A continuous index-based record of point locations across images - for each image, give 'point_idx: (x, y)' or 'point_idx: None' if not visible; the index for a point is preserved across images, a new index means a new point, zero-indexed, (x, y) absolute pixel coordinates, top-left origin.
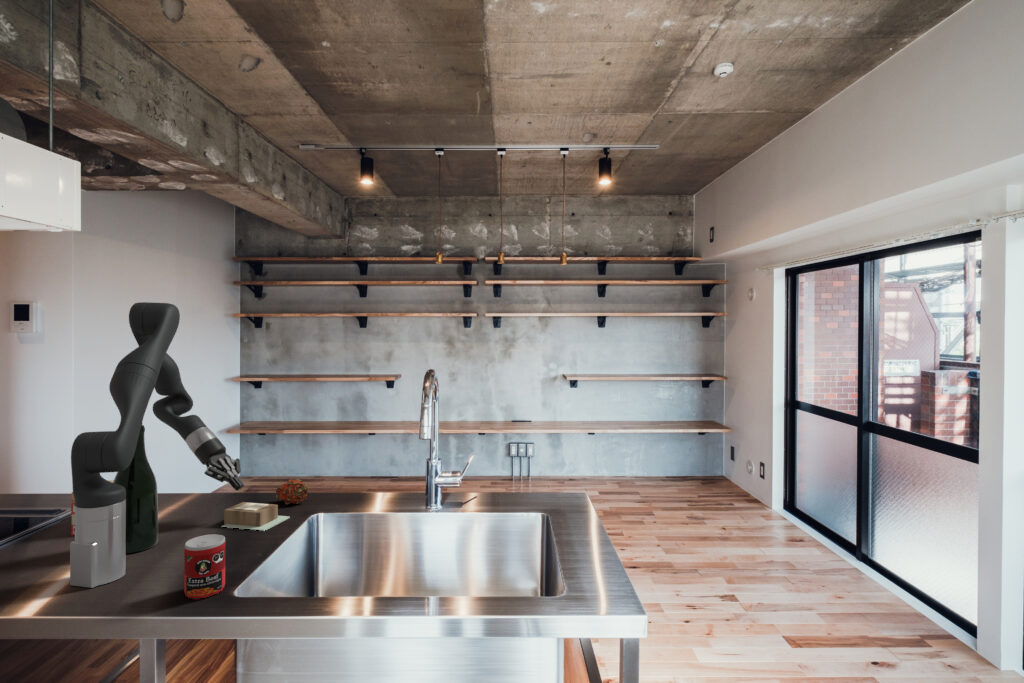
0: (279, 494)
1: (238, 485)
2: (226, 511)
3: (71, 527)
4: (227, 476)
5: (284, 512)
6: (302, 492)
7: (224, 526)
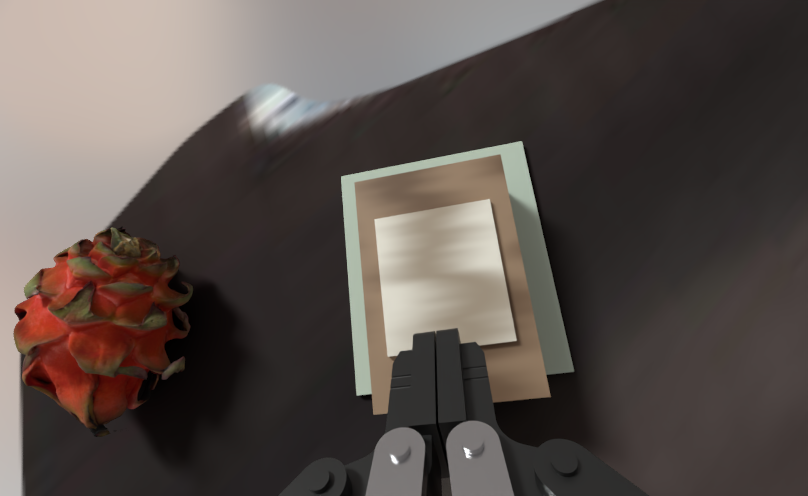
0: (152, 367)
1: (463, 348)
2: (546, 376)
3: None
4: (558, 442)
5: (286, 256)
6: (133, 239)
7: (569, 351)
